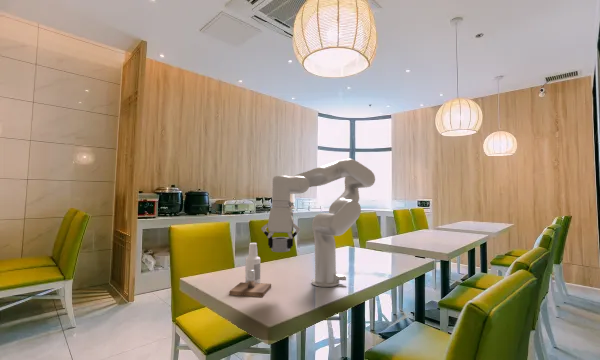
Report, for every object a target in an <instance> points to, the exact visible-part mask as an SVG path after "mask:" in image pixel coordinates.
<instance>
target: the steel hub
mask: <svg viewBox="0 0 600 360" xmlns="http://www.w3.org/2000/svg"><path fill="white" fill-rule="evenodd" d="M289 238H290V237H289V236H287V237H285V236H278V237H277V236H276V237H273V238H272V241H271V248H270V249H271V251H272V252H274V253H287V252H290V251H291V249H289Z"/></svg>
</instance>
